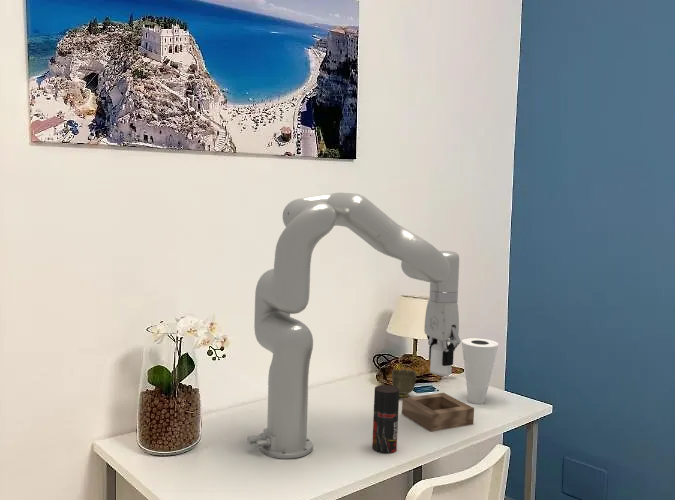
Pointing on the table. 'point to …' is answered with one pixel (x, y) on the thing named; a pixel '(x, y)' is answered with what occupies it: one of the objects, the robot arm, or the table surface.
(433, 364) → the eye dropper bottle
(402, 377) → the cup
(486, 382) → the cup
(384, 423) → the deodorant
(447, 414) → the socket
